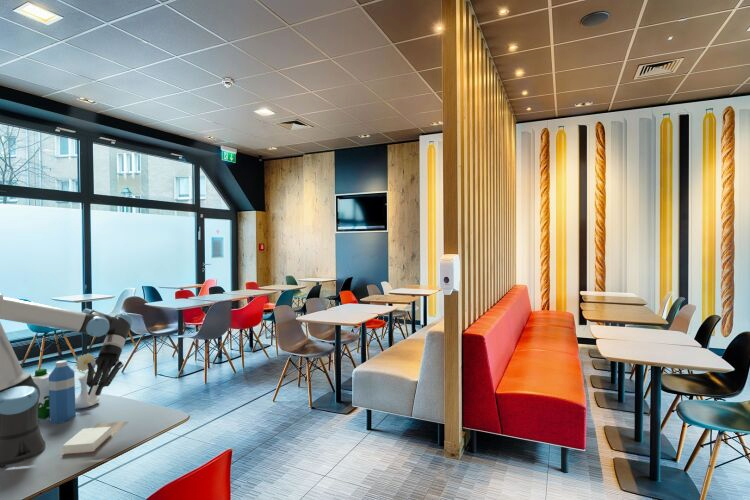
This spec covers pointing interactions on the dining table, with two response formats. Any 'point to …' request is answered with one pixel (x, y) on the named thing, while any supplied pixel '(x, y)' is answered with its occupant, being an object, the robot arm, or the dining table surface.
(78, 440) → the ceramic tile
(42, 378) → the milk carton
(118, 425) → the walnut board
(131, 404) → the dining table surface
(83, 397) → the flower in vase
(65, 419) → the water bottle
